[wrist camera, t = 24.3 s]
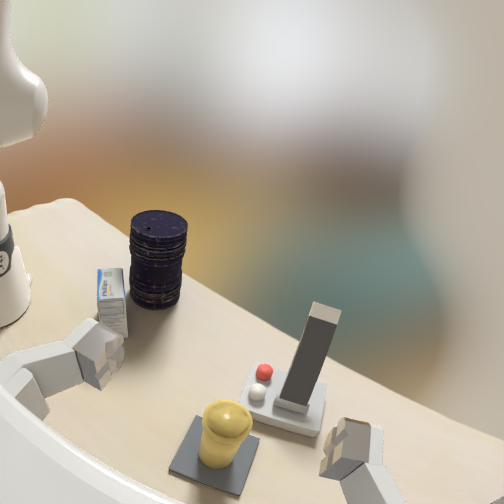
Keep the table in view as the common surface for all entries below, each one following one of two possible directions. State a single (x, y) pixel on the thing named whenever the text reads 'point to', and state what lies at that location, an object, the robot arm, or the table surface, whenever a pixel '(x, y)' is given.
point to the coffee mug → (499, 501)
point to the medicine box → (112, 300)
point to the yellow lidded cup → (223, 432)
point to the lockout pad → (221, 479)
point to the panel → (262, 409)
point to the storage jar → (156, 258)
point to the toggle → (308, 359)
